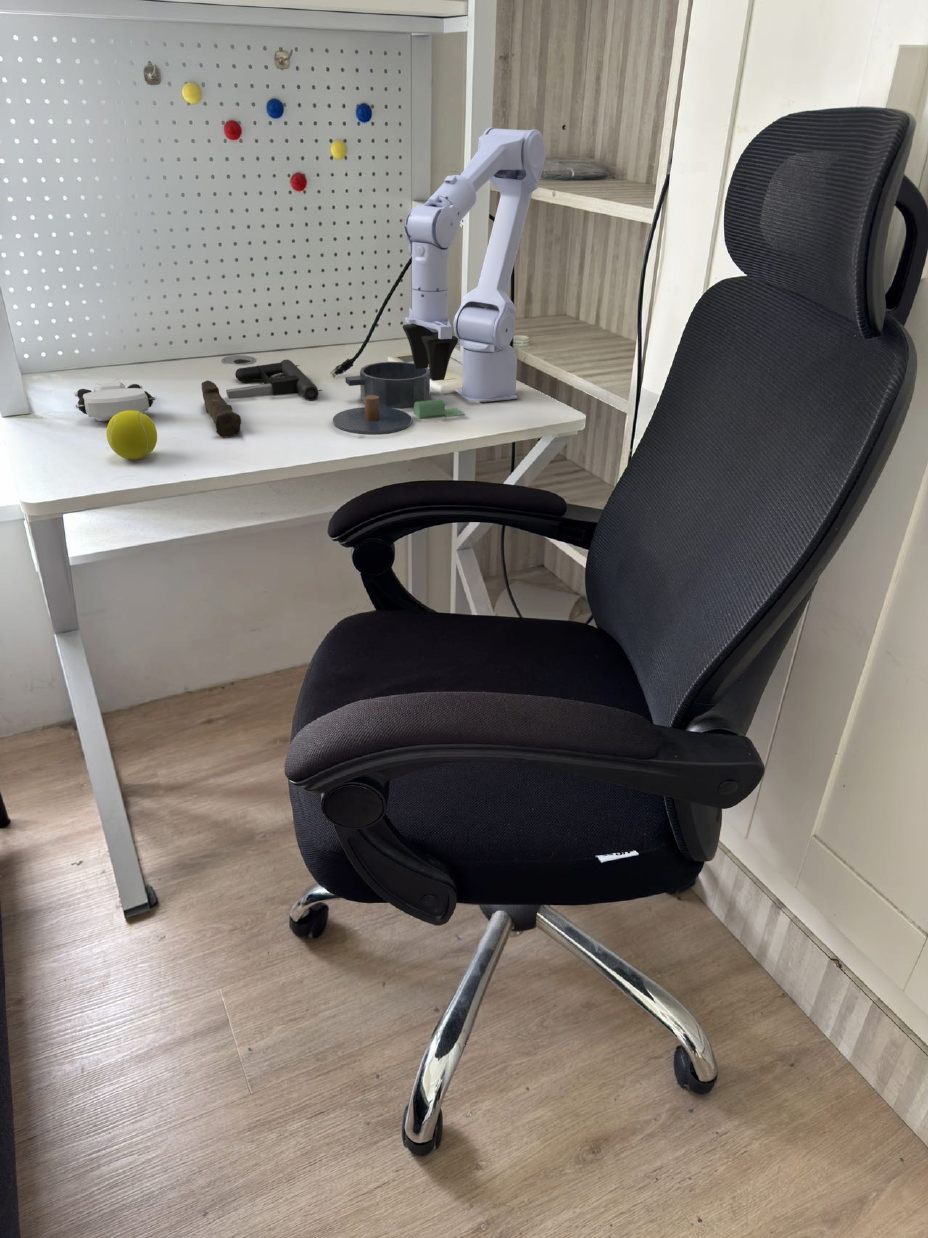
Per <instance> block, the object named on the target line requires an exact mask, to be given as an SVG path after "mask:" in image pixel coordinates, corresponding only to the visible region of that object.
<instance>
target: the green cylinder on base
mask: <svg viewBox="0 0 928 1238" xmlns="http://www.w3.org/2000/svg"><path fill="white" fill-rule="evenodd" d="M413 415H414V416H416V417H417V418H418V419H426V418H434V417H435V418H436V417H445V418H449V417H459V416H465V413H463V412H462V410H459V408H457V407H452V408H451V407H450V408H446V406H445V402H444V400H443V399H440V398H439V399H430V400H428V401H418V402H415V403H414V407H413Z"/></svg>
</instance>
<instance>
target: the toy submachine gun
mask: <svg viewBox="0 0 928 1238" xmlns="http://www.w3.org/2000/svg"><path fill="white" fill-rule="evenodd" d="M299 366H301V364H297V365H296V364H295V363H294V362H293V361H292V360H290V359H283V360H281V361H280V362H275V363H266V364H261V365H253V366H246V367H239V368H237V369H236V371H235V372H234V373H235V375H234V376H235V378H236V380H237V381H239V382H242V383H245V382H253V381H259V380H260V381H261V383H263V384H256V385H250V386H249V385H248V386H242V387H236V388H229V389H228V388H227V389H226V390H225V391H226V397H227V398H228V399H240V398H251V397H261V396H272V395H273V396H283V395H293V394H294V395H295V394H296V395H297V394H300V395H301V397H302V398H303V399H304V400H307V401H312V402H313V401H315V400H316V399H317V398H318V397H319V392H321V391H322V389H318V387H317V385H315V383H313V381H312V380H311V379H309V377H308V376H306V374H304V372H303V371H302V369H300V368H299Z"/></svg>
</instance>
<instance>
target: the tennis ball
mask: <svg viewBox="0 0 928 1238" xmlns="http://www.w3.org/2000/svg"><path fill="white" fill-rule="evenodd" d="M157 431H158V430H157V427H156V425H155V423H154V422H153V420H152V419H151V417H149V415H147V413H144V412H143V413H142V412H139V411H133V410H128V411H122V412H119V413H118V414H116V415H114V416H113V417H112V418H111V419H110V420H108V424H107V426H106V439H107V442H108V446H109V447H110V449H111V450H112V451H113V453H115V454H116V455H117V456H119V457H121V458H123V459H126V460H140V459H143V458H145V457H147V456H149V455H150V454H151V453H152V452H153V451H154V449H155V448H156V445H157V441H158V432H157Z"/></svg>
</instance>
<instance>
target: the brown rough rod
mask: <svg viewBox="0 0 928 1238" xmlns="http://www.w3.org/2000/svg"><path fill="white" fill-rule="evenodd" d="M201 392H202V398H203V401H204V409H205V412H206V413H207V414H209V417H211V419H212V422H213V423H214V424H215V432H216V434H218V436H219V437H221V438H230V437H234V436H235V435H238V434H239V433H240V432H241V425H242V418H241V416H240V414H238V413H236V412H234V411H233V407H232V405H231V404H228V403H227V402H226V401H225V400H224V398H223V396H222V395H221V394H220V388H219V387H218V385H217V384H216V383H215V382H213V381H211V380H205V381H203V382H201Z"/></svg>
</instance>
